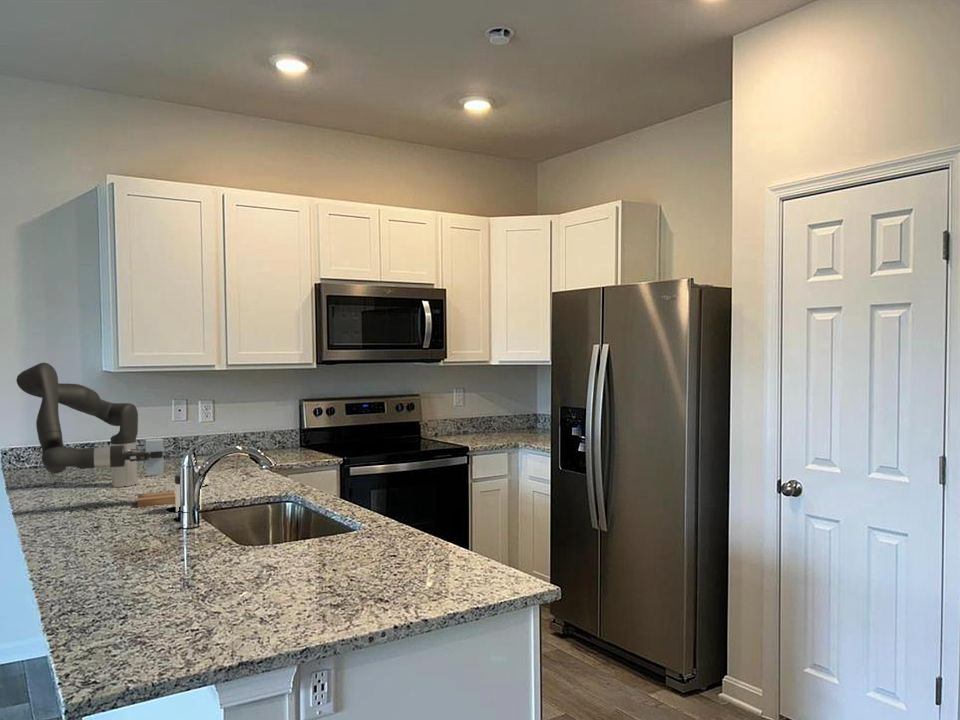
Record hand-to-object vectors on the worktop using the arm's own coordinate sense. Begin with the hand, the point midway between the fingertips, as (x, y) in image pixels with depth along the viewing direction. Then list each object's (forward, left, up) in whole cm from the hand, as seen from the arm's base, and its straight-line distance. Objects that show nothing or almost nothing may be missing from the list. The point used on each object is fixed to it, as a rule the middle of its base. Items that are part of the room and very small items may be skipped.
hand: (162, 453), depth 255 cm
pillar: (0, -3, -7) cm, 7 cm away
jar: (+19, +8, -18) cm, 27 cm away
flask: (-26, +14, -18) cm, 34 cm away
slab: (0, -2, -18) cm, 18 cm away
